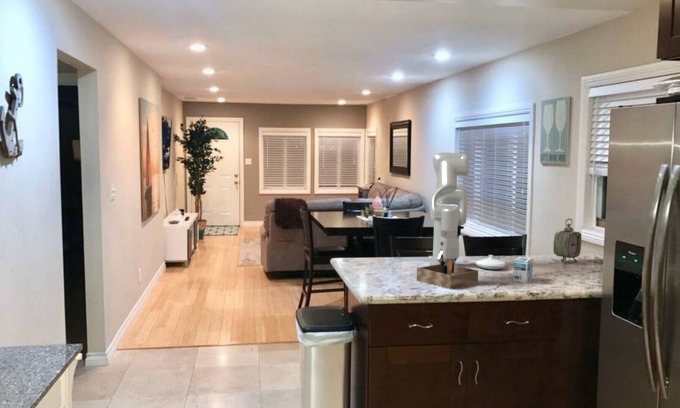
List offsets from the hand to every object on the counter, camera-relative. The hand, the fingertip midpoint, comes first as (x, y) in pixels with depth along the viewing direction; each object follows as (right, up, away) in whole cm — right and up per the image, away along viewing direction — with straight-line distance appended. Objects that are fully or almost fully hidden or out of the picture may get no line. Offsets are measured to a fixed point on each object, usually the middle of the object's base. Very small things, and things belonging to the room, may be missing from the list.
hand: (447, 272), depth 266 cm
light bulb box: (+37, -5, +7) cm, 38 cm away
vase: (+29, -2, +34) cm, 45 cm away
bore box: (0, -4, 0) cm, 4 cm away
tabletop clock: (+77, -1, +55) cm, 94 cm away
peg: (0, -3, 0) cm, 3 cm away
